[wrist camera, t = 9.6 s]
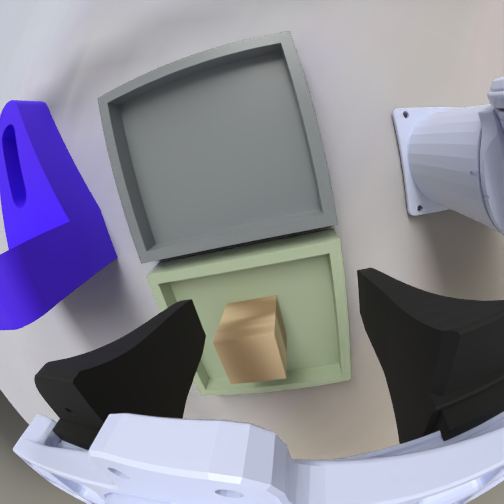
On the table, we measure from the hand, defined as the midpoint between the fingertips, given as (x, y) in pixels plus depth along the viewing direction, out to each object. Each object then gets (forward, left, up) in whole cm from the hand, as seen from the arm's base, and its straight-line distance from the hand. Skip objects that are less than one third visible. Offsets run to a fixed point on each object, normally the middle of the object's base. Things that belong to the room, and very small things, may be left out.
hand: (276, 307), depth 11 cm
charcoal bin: (+3, -7, -9) cm, 12 cm away
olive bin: (+3, +7, -9) cm, 12 cm away
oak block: (+3, +6, -9) cm, 11 cm away
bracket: (+20, -10, -10) cm, 24 cm away
